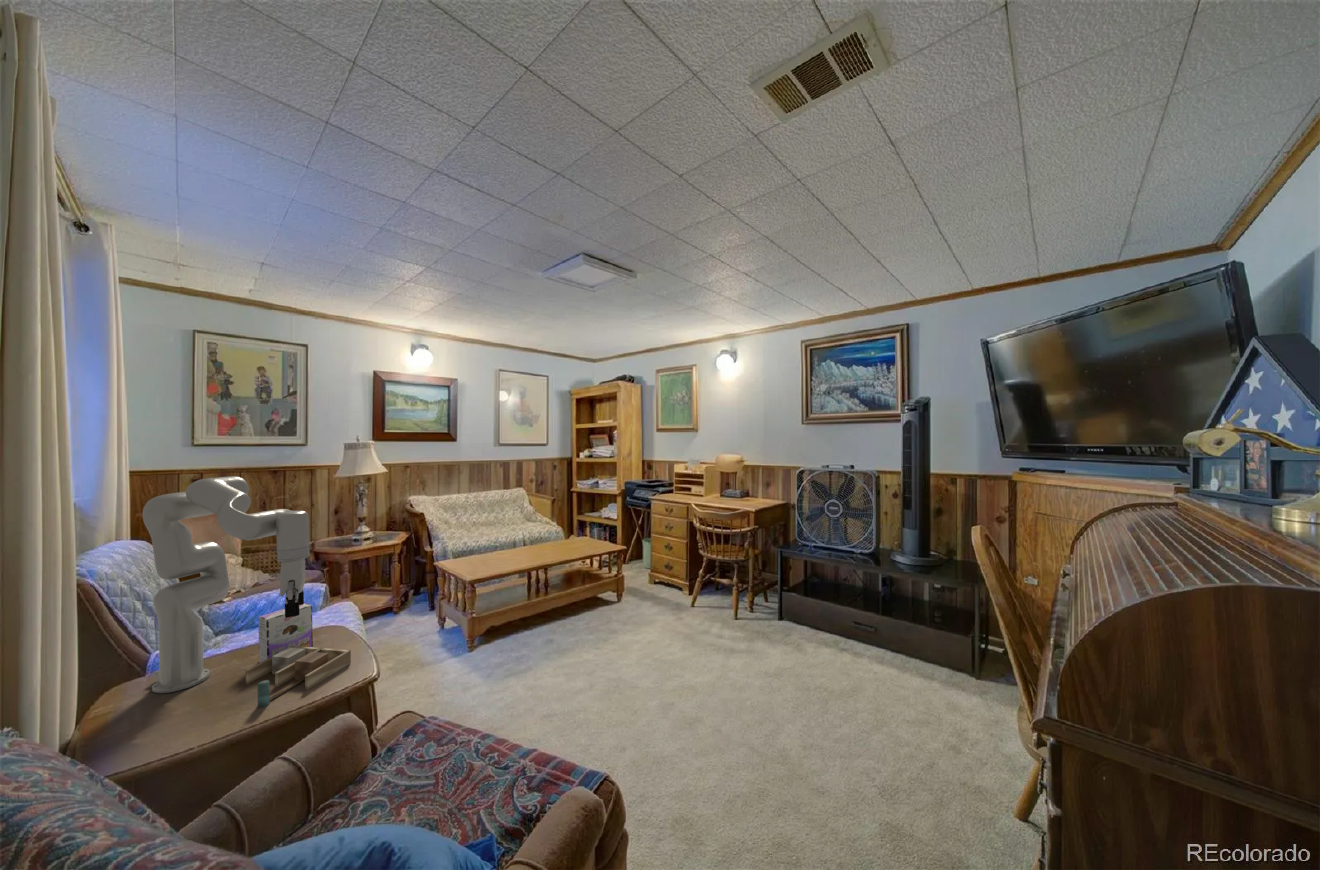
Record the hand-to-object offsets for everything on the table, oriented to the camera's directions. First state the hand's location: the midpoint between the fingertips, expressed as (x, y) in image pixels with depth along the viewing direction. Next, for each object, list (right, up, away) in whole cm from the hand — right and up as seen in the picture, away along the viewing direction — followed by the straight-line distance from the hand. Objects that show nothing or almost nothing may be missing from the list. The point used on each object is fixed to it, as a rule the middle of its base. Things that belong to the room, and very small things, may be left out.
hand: (294, 610), depth 134 cm
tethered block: (-5, -26, +5) cm, 27 cm away
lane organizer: (-9, -26, +13) cm, 31 cm away
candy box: (-23, -26, +25) cm, 43 cm away
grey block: (-14, -25, +15) cm, 32 cm away
